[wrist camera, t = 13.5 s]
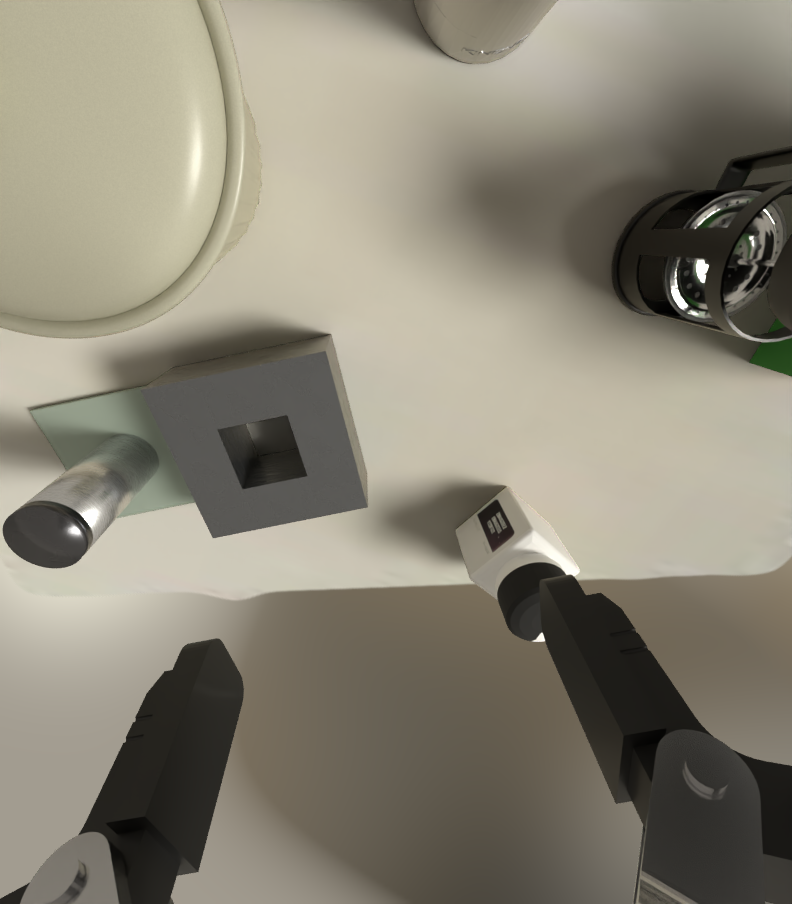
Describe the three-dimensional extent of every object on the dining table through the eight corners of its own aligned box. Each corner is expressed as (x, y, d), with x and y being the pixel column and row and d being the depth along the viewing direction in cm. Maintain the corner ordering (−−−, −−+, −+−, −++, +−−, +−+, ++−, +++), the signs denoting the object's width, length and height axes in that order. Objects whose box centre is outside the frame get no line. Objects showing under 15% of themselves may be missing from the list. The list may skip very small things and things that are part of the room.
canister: (116, 320, 35) (-173, 417, 16) (-35, 29, 27) (-995, -474, 8) (331, 264, 34) (291, 296, 15) (242, -54, 26) (-79, -831, 7)
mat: (34, 408, 38) (29, 411, 37) (166, 381, 37) (163, 383, 37) (102, 518, 43) (99, 521, 42) (218, 494, 43) (216, 497, 42)
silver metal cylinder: (90, 439, 39) (-14, 517, 28) (144, 428, 38) (60, 502, 28) (117, 485, 41) (30, 574, 30) (168, 475, 41) (98, 560, 30)
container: (453, 529, 47) (482, 626, 35) (506, 484, 45) (557, 571, 33) (498, 565, 49) (539, 665, 38) (550, 523, 47) (611, 616, 36)
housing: (172, 367, 37) (140, 389, 31) (331, 334, 36) (325, 350, 31) (231, 500, 43) (213, 538, 38) (367, 473, 43) (367, 507, 37)
